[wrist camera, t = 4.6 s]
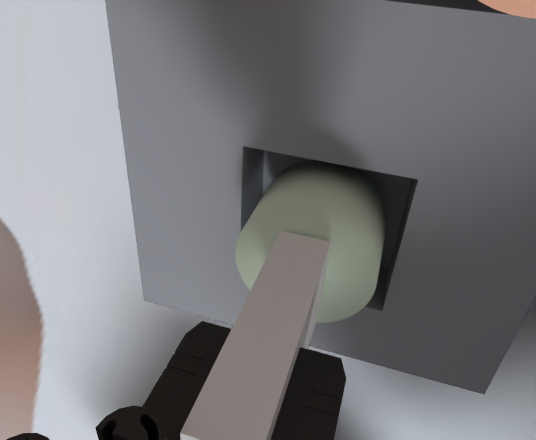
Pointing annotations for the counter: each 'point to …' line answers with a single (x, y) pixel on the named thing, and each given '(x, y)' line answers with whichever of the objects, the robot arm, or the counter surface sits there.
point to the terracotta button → (513, 7)
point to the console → (341, 158)
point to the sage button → (322, 230)
